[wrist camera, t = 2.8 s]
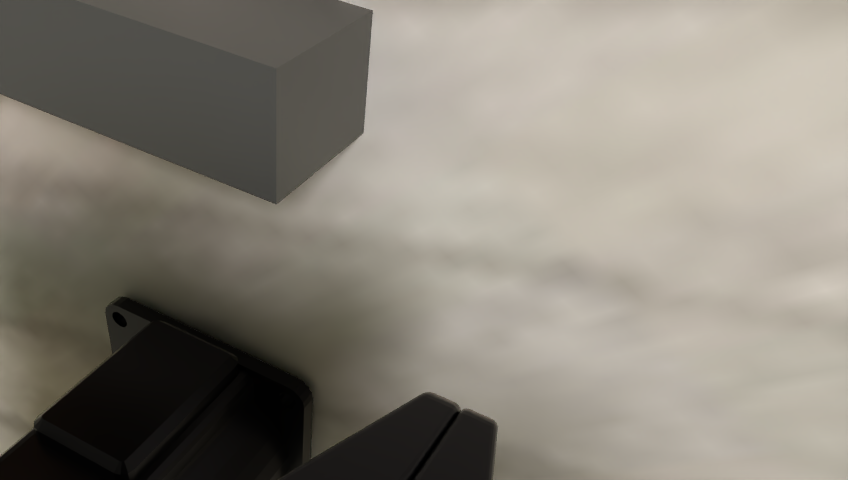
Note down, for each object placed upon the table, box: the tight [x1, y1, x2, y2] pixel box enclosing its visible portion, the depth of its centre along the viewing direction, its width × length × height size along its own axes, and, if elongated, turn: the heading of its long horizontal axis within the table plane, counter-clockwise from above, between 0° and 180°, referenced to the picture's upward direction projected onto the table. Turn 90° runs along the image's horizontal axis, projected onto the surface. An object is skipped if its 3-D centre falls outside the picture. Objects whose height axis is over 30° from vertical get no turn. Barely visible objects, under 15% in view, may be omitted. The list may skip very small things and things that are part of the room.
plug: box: [0, 0, 373, 204], centre depth 16 cm, size 4×13×4 cm, turn 84°
